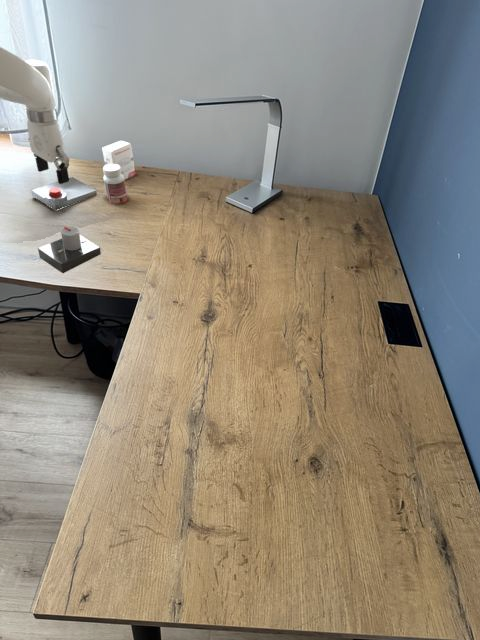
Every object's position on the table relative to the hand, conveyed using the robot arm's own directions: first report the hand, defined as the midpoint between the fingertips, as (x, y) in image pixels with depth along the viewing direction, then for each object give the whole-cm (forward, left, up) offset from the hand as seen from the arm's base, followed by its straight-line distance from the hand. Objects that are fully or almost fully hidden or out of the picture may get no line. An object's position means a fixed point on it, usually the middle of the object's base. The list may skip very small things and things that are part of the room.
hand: (53, 176), depth 145 cm
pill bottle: (+16, -7, -11) cm, 21 cm away
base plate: (-13, -23, -11) cm, 28 cm away
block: (+6, +6, -11) cm, 14 cm away
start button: (+1, +2, -7) cm, 7 cm away
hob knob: (-12, -23, -8) cm, 27 cm away
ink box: (+27, +4, -11) cm, 29 cm away
